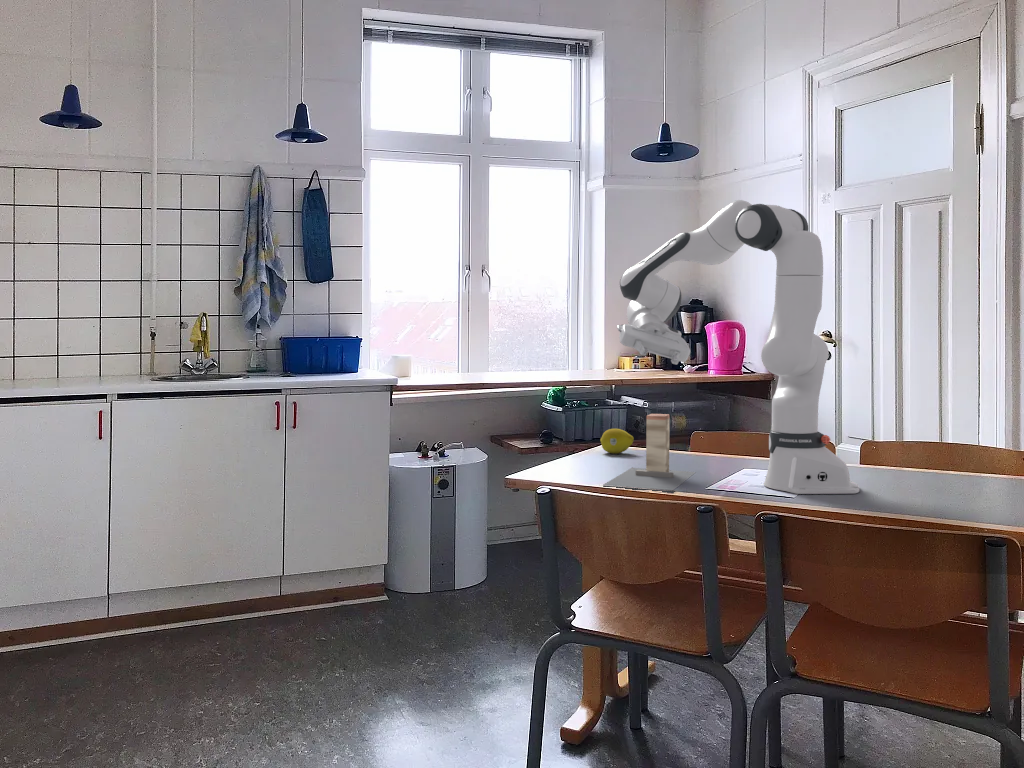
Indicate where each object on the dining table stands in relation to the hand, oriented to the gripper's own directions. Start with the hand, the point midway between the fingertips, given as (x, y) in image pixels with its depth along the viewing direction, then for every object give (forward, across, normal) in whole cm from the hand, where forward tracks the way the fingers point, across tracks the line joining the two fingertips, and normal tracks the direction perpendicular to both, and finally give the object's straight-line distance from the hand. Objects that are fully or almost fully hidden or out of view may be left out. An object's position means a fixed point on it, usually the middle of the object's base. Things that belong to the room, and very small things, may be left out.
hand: (660, 357), depth 224 cm
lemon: (-18, +10, +45) cm, 50 cm away
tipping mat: (+22, +4, +25) cm, 33 cm away
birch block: (+16, +7, +26) cm, 31 cm away
